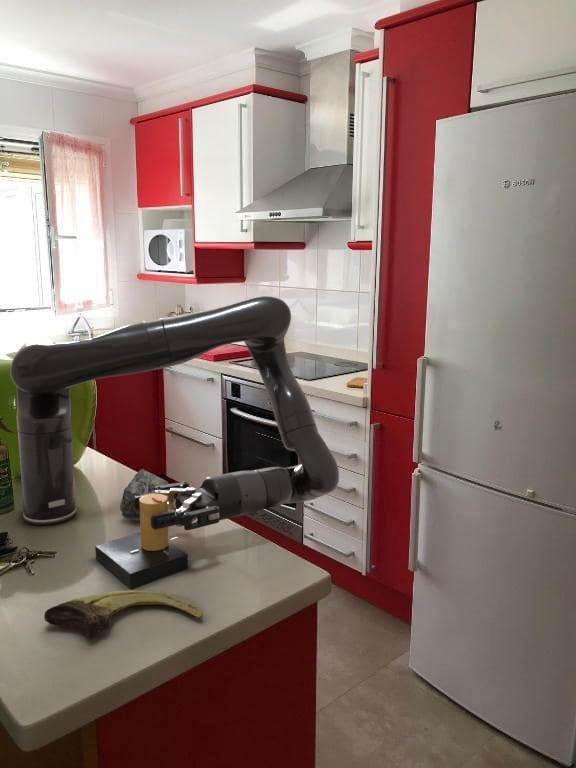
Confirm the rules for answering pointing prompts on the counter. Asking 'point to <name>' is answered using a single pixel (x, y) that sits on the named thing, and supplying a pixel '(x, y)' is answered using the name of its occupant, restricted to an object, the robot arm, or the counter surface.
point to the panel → (139, 560)
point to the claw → (109, 609)
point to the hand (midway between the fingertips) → (142, 512)
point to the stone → (138, 492)
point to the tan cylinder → (150, 536)
